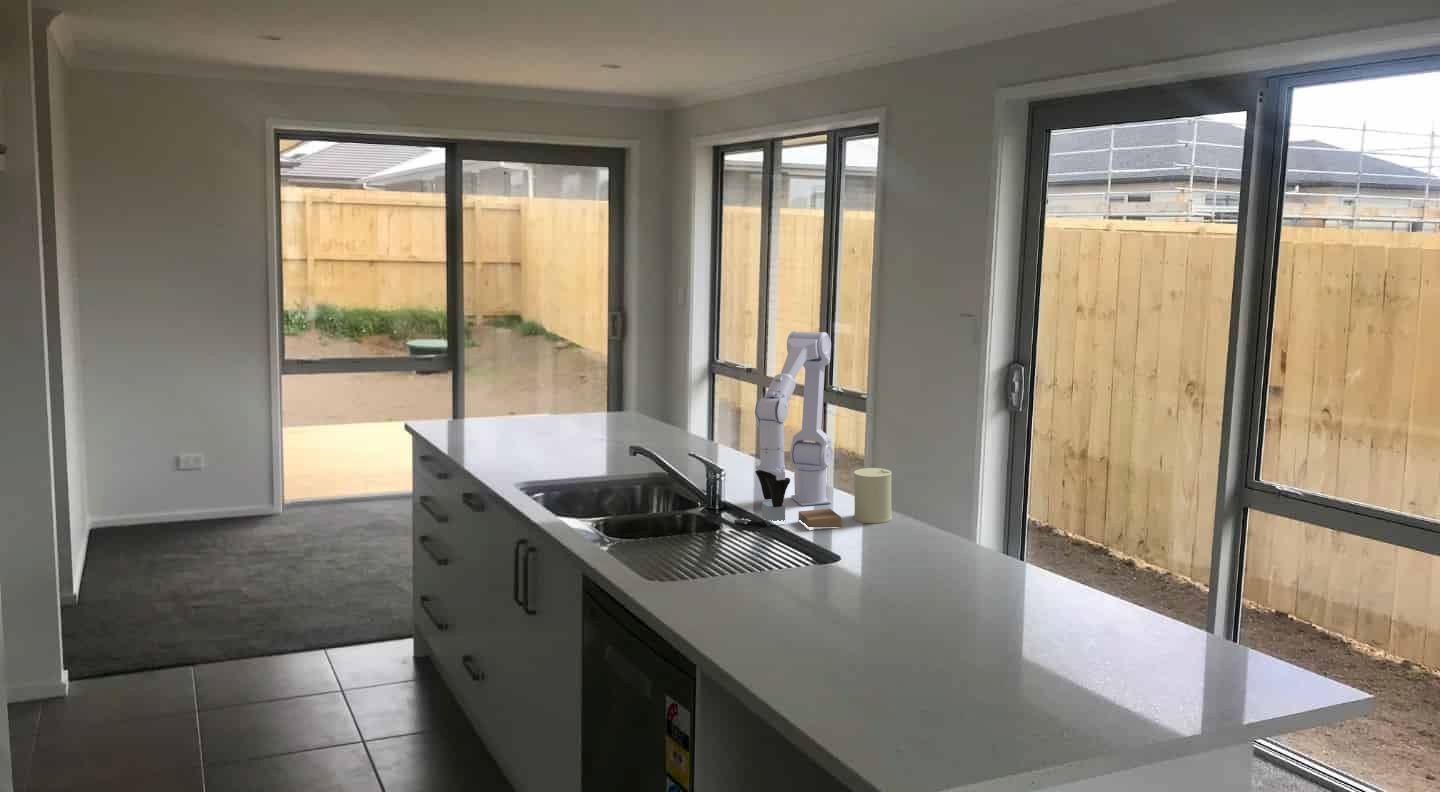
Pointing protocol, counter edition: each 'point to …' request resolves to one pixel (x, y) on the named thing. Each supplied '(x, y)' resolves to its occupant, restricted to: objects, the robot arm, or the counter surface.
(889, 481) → the can
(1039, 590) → the counter surface
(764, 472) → the robot arm
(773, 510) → the block
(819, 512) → the slab
